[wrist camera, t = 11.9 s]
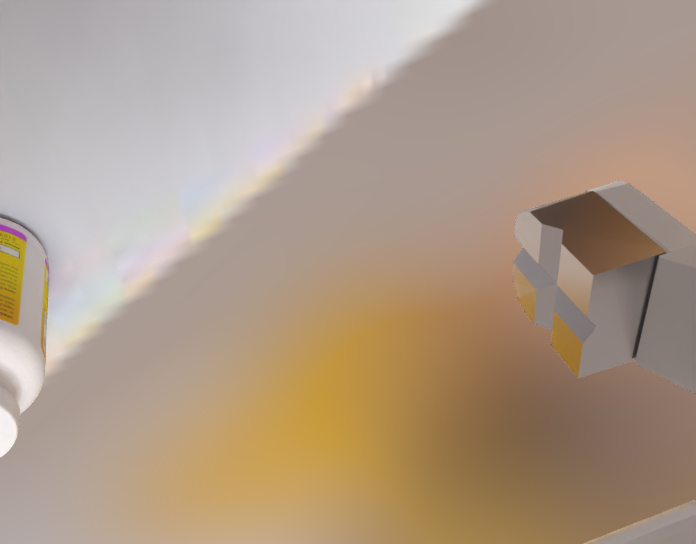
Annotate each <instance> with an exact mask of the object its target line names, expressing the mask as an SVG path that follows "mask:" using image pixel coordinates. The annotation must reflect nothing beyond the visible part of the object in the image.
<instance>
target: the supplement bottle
mask: <svg viewBox="0 0 696 544" xmlns="http://www.w3.org/2000/svg"><path fill="white" fill-rule="evenodd" d="M48 284H49V266H48V259H47V256H46V253H45V251H44V249H43V247H42V245H41V244H40V242H39V241H38V240H37V239H36V238H35V237H34V236H33V235H32V234H31V233H30V232H29V231H27V230H26V229H25V228H23V227H22V226H20V225H18V224H16V223H14V222H11V221H9V220H6V219H3V218H0V457H1V456H3V455H4V454H5V453H7V452H8V451H9V449H10V448H11V447H12V445H13V444H14V442H15V440H16V438H17V434H18V427H19V421H20V414H21V413H22V412H23V411H25V410H26V409H27V408H28V407H29V406H30V405H31V404H32V403H33V401H34V400H35V399H36V397H37V396H38V394H39V392H40V390H41V388H42V385H43V381H44V376H45V360H46V359H45V358H46V328H47V308H48Z"/></svg>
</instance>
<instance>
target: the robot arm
mask: <svg viewBox="0 0 696 544" xmlns="http://www.w3.org/2000/svg"><path fill="white" fill-rule="evenodd" d="M514 237H515V238H516V239H517V241H518V242H519V243H520V244H521V245H522V246H523V248H522V250H521V251H520V253H519V254H518V256H517V257H516V259H515V260H514V262H513V283H514V287H515V290H516V294H517V298H518V300H519V302H520V304H521V306H522V308H523V310H524V312H525V313H526V314H527V316H528V317H529V318H530V320H531V321H532V322H533V323H534V324H536V325H538V326H541V327H543V328H546V329H548V330H551V331H552V339H551V346H552V347H553V348H554V349H555V351H556V352H557V353H558V354H559V356H560V357H561V358H562V359H563V361H564V362H565V363H566V364H567V365H568V367H569V368H570V369H571V370H572V372H573V373H574V374H575V375H576V377H577V378H581V377H584V376H587V375H590V374H593V373H596V372H600V371H603V370H606V369H609V368H612V367H615V366H619V365H622V364H625V363H628V362H631V361H634V360H635V364H637V365H639V366H641V367H643V368H645V369H647V370H649V371H651V372H653V373H655V374H657V375H659V376H661V377H663V378H665V379H667V380H669V381H671V382H673V383H675V384H677V385H678V386H680V387H683V388H684V389H686V390H689V391H690V392H693V393H694V394H696V234H695V233H694V232H692V231H691V230H690V229H688V228H687V227H686V226H684V225H683V224H682V223H681V222H679V221H678V220H677V219H675V218H674V217H673V216H671V215H670V214H669V213H667V212H666V211H665V210H663V209H662V208H661V207H660V206H658V205H657V204H656V203H654V202H653V201H652V200H651V199H649V198H648V197H647V196H645V195H644V194H643V193H641V192H640V191H639V190H637V189H636V188H635V187H634V186H632V185H631V184H630V183H627V182H623V181H615V182H612V183H609V184H606V185H603V186H600V187H597V188H593V189H590V190H588V191H586V192H585V193H581V194H578V195H574V196H571V197H567V198H564V199H561V200H558V201H554V202H551V203H548V204H545V205H541V206H538V207H535V208H531V209H528V210H525V211H522V212H519V214H518V217H517V219H516V221H515V233H514ZM583 544H696V499H695V500H693V501H690V502H687V503H685V504H682V505H680V506H678V507H675V508H672V509H670V510H667V511H665V512H662V513H660V514H657V515H655V516H652V517H649V518H647V519H644V520H642V521H639V522H637V523H634V524H632V525H629V526H627V527H624V528H622V529H619V530H616V531H614V532H611V533H609V534H606V535H604V536H601V537H599V538H596V539H593V540H591V541H588V542H586V543H583Z"/></svg>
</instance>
